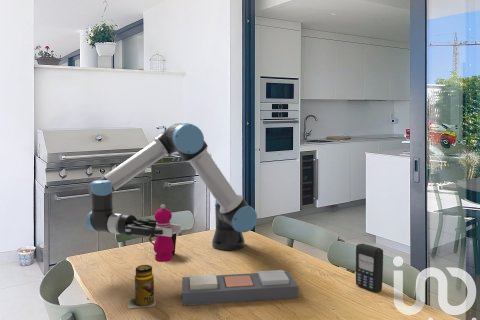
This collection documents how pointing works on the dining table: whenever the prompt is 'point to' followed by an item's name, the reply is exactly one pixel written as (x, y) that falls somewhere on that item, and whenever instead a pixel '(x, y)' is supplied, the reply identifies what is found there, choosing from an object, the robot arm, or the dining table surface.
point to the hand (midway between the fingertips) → (175, 230)
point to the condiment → (143, 288)
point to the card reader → (369, 267)
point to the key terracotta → (238, 281)
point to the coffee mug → (172, 240)
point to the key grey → (273, 277)
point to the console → (238, 291)
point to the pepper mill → (163, 243)
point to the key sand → (203, 282)
